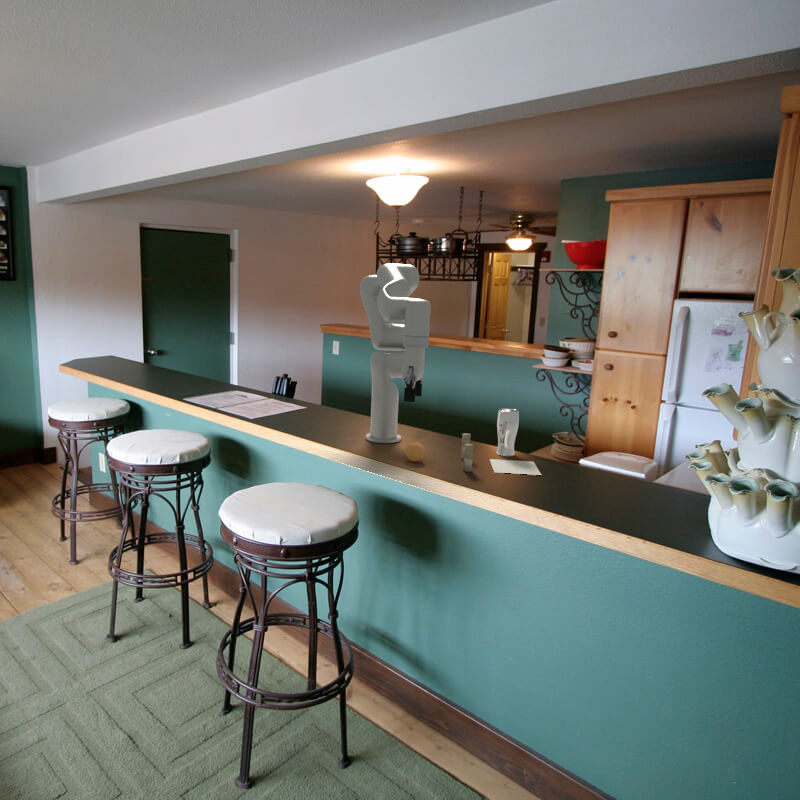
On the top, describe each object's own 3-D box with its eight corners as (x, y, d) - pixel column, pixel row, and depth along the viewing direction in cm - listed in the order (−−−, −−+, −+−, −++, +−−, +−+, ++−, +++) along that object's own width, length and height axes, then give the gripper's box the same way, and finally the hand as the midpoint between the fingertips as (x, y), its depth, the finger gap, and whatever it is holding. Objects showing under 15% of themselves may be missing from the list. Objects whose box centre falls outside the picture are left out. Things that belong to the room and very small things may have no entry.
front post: (462, 469, 171) (464, 443, 170) (471, 469, 171) (473, 444, 170) (463, 471, 169) (464, 445, 167) (471, 472, 169) (473, 446, 167)
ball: (405, 458, 180) (406, 439, 179) (424, 459, 180) (425, 440, 179) (404, 463, 174) (405, 444, 173) (424, 464, 174) (425, 445, 173)
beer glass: (500, 457, 186) (503, 412, 184) (491, 451, 193) (494, 408, 190) (519, 456, 188) (523, 412, 185) (510, 450, 195) (513, 408, 192)
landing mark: (489, 459, 183) (489, 459, 183) (533, 462, 182) (533, 461, 182) (494, 472, 169) (494, 472, 169) (541, 475, 169) (541, 475, 168)
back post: (460, 457, 184) (462, 433, 183) (468, 457, 184) (470, 433, 183) (461, 459, 182) (462, 435, 180) (469, 459, 182) (470, 435, 180)
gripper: (409, 338, 177) (407, 393, 180) (396, 343, 160) (393, 402, 163) (433, 340, 175) (430, 395, 178) (422, 345, 158) (419, 405, 162)
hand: (412, 398), depth 171 cm, fingers open, 9 cm apart
